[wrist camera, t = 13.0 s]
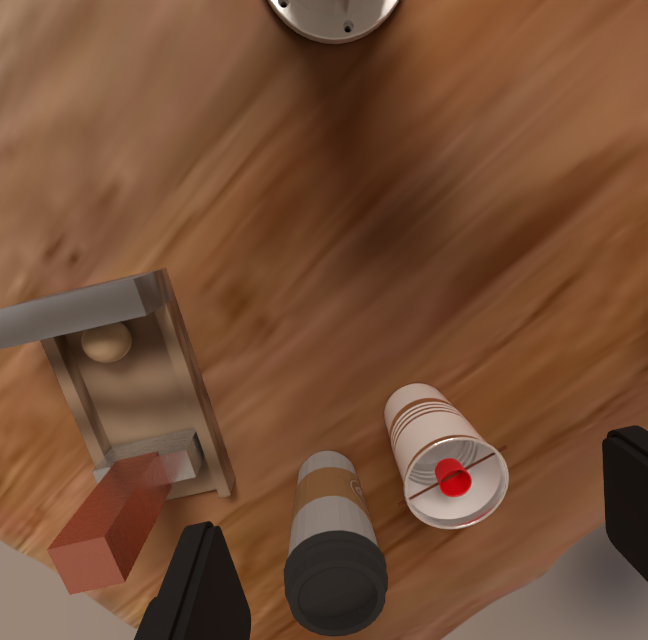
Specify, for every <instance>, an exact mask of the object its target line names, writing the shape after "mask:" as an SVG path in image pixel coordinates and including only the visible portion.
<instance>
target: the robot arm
mask: <svg viewBox="0 0 648 640" xmlns="http://www.w3.org/2000/svg"><path fill="white" fill-rule="evenodd" d="M268 2H269V4H270V5H271V7H272V8H273V10H274V12H275V13H276V14H277V15H278V16H279V17H280V18H281V20H282V21H283V22H284V23H285V24H286V25H287V26H289V27H290V28H291V29H293V30H294V31H295V32H296V33H298V34H300V35H302V36H304V37H306V38H308V39H310V40H313V41H317V42H321V43H327V44H341V43H347V42H352V41H355V40H357V39H360V38H362V37H364V36H366V35H368V34H369V33H371V32H372V31H374V30H375V29H377V28H378V27H379V26H380V25H381V24H382V23H383V22H384V21H385V20H386V19H387V18H388V17H389V16H390V14H391V13H392V11H393V10H394V8H395V7H396V5H397V4H398V2H399V0H268ZM283 4H285V5H286V6H287V7H285V8H282V7H281V5H283ZM345 29H349V30H350V33H346V32H345V31H344V30H345ZM602 451H603V475H604V498H605V521H606V532H607V535H608V537H609V539H610V541H611V543H612V544H613V545H614V546H615V548H616V549H617V550H618V551H619V552H620V553H621V554H622V555H623V556H624V557H625V558H626V559H627V561H628V562H629V563H630V564H631V565H632V566H633V567H634V568H635V569H636V570H637V571H638V572H639V573H640V574H641V575H642V576H643V577H644V578H645V580H646V581H648V431H647V430H645V429H643V428H642V427H639V426H634V425H633V426H629V427H625V428H620V429H616V430H612V431H609V432H608V434H607V438H606V439H604V440H603V442H602ZM250 631H251V614H250V609H249V606H248V603H247V600H246V597H245V595H244V592H243V589H242V586H241V583H240V581H239V578H238V575H237V572H236V569H235V566H234V564H233V561H232V558H231V555H230V552H229V550H228V547H227V544H226V541H225V538H224V536H223V533H222V530H221V528H220V527H219V526H215V527H214V526H213V524H212V523H211V522H210V521H207V522H203V523H198V524H194V525H189V526H186V527H185V528H184V530H183V532H182V534H181V537H180V539H179V542H178V544H177V547H176V550H175V552H174V555H173V557H172V560H171V562H170V565H169V567H168V570H167V573H166V575H165V578H164V580H163V583H162V585H161V588H160V590H159V593H158V596H157V597H155V598H154V599H153V600H152V601H151V602H150V603H149V605H148V607H147V609H146V611H145V614H144V616H143V618H142V621H141V623H140V626H139V628H138V631H137V633H136V636H135V638H134V640H249V638H250Z"/></svg>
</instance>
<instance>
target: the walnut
mask: <svg viewBox="0 0 648 640" xmlns="http://www.w3.org/2000/svg"><path fill="white" fill-rule="evenodd" d="M81 342H82V348H83V350H84V352H85V353H86V354H87V355H88V356H89V357H90V358H91V359H93V360H95V361H98V362H103V363H109V362H114V361H117V360H119V359H121V358H122V357H124V356H125V355H126V354H127V352H128V351H129V349H130V347H131V343H132V337H131V333H130V331H129V329H128V328H127V327H126V326H125V325H124V324H123V323H121V322H116V323H112V324H107V325H103V326H99V327H94V328H90V329H86V330H85V331H84V332H83V335H82V341H81Z"/></svg>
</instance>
